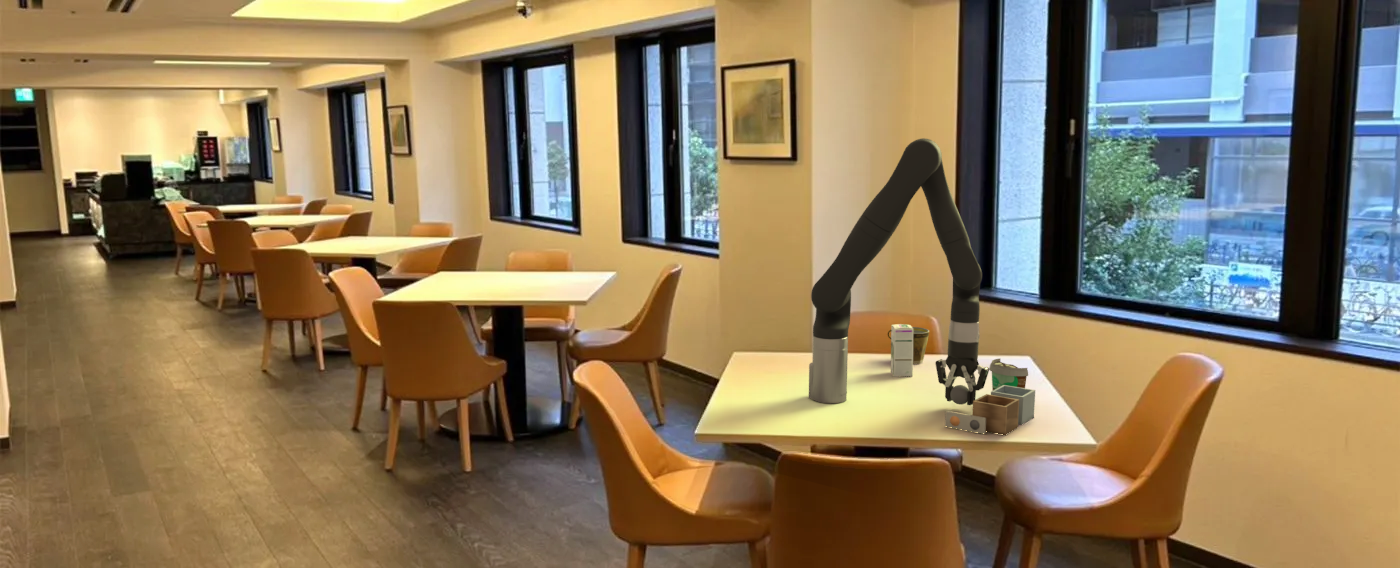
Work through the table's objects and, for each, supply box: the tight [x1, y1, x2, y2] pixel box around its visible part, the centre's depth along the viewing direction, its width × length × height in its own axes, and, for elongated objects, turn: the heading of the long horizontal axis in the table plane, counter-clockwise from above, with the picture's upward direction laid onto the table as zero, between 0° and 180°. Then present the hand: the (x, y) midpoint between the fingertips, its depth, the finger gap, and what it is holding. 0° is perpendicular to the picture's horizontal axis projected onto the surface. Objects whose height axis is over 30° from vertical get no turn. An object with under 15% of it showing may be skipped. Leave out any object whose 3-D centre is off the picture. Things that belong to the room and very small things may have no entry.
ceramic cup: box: [887, 326, 930, 365], centre depth 312 cm, size 13×10×10 cm
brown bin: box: [971, 393, 1019, 436], centre depth 244 cm, size 8×8×7 cm
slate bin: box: [990, 385, 1036, 426], centre depth 253 cm, size 8×8×7 cm
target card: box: [944, 410, 987, 435], centre depth 243 cm, size 10×1×4 cm, turn 52°
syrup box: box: [890, 323, 914, 378], centre depth 296 cm, size 6×6×14 cm
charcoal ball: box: [950, 384, 969, 405], centre depth 260 cm, size 5×5×5 cm
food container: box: [988, 358, 1029, 391], centre depth 269 cm, size 12×6×10 cm, turn 21°
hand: (959, 402), depth 261 cm, fingers closed on charcoal ball, 5 cm apart
